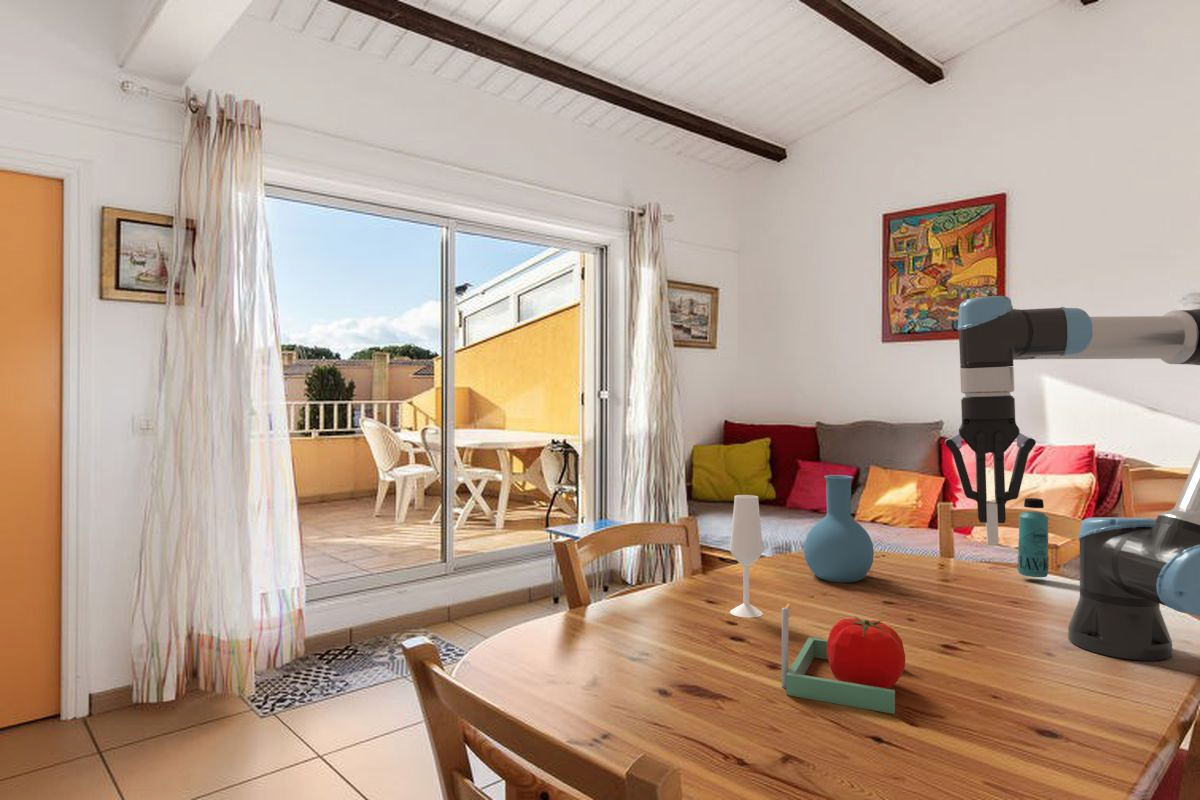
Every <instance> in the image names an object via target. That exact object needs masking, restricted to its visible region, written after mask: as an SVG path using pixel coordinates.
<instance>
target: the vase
mask: <svg viewBox="0 0 1200 800" xmlns="http://www.w3.org/2000/svg"><path fill="white" fill-rule="evenodd" d="M824 479H825V480H826V482H825V483H826V484H825V487H826V489H825V491H826V495H825V496H826V498H825V499H826V515H825V516H824V517H823V518H822V519H821V520H819V521H817V523H815V524H814V525H813V526H812V527H811V529H810V530H809V532H808V533H807V535H806V538H805V541H804V543H803V544H804V545H803V554H804V560H805V562H806V565H807V566H808V568H809V570H810V571H811V573H813V574H814V575H815V576H816V577H817V578H818V579H821V580H824V581H827V582H833V583H841V584H842V583H844V584H845V583H846V584H847V583H849V584H850V583H856V582H859V581H861V580H862V579H863V578H865V577H867V574H868V573H869V572H870V569H871V568H872V565H873V562H874V554H875V553H874V544H873V542H872V539H871V536H870V534H869V533H868V532H867V530H866V529H865V527H863V526H862V525H861V524H860V523H858V521H856V520H855V519H854V517H852V513H851V508H852V507H851V506H852V499H851V498H852V480H853V479H854V476H850V475H845V474H844V475H843V474H842V475H841V474H839V475H838V474H837V475H836V474H831V475H830V474H829V475H828V474H827V475H824Z"/></svg>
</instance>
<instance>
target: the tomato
mask: <svg viewBox="0 0 1200 800" xmlns="http://www.w3.org/2000/svg"><path fill="white" fill-rule="evenodd" d="M882 621H883V619H879V620H875V619H872V620H868V619H865V620H862V619H860V618H858V617H857V616H855V617H854V618H853V617H852V618H843V619H840V620H839V621H838V622H837V623H836V624H834V625H833V626H832V628H831V629H830V633H829V634H828V635H829V636H828V639H827V640H828V641H827V657H828V659H827V661H828V663H829V667H830V670H831V673H832V675H833V676H834V678H835V679H836V680H837V681H843V682H849V683H855V684H861V685H867V686H874V687H880V688H886V689H891V688H892V687H894V685H895V684H896V683H897V682H898V680H899V679H900V678H901V677H902V674H903V672H904V670H905V668H906V653H905V647H904V645H903V644H904V643H903V640H902V638H901V637H900V636H899V634H898V633H897V631H896V630H895V629H893V628H892V627H890V626H889V625H887V624H885V623H884V622H882Z"/></svg>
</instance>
